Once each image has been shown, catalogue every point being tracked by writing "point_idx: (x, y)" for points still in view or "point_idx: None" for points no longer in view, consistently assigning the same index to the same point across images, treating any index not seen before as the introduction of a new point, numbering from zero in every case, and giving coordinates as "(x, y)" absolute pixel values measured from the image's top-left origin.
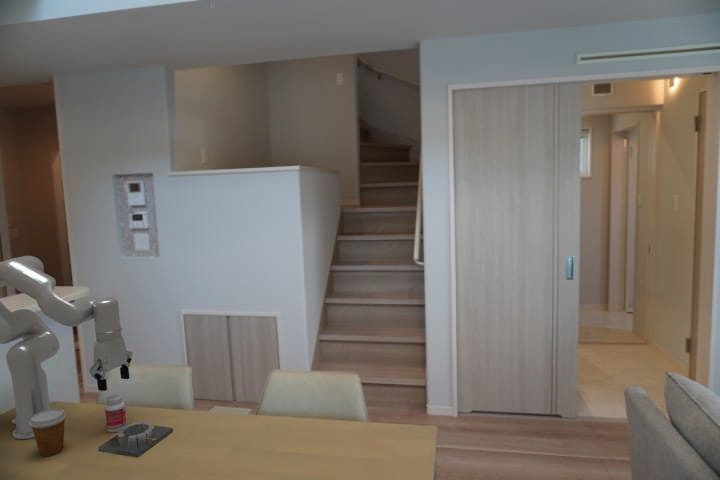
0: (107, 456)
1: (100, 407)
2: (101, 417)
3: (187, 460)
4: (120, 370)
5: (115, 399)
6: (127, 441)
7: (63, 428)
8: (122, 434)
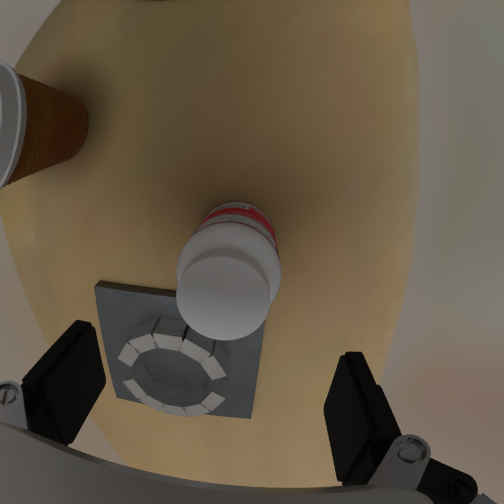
0: (91, 323)
1: (393, 41)
2: (317, 98)
3: (154, 459)
4: (360, 415)
5: (197, 329)
6: (148, 350)
7: (27, 173)
8: (131, 357)
